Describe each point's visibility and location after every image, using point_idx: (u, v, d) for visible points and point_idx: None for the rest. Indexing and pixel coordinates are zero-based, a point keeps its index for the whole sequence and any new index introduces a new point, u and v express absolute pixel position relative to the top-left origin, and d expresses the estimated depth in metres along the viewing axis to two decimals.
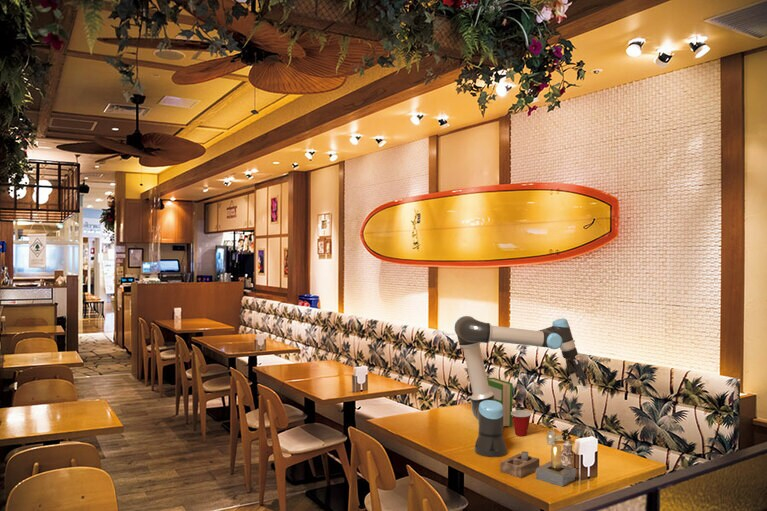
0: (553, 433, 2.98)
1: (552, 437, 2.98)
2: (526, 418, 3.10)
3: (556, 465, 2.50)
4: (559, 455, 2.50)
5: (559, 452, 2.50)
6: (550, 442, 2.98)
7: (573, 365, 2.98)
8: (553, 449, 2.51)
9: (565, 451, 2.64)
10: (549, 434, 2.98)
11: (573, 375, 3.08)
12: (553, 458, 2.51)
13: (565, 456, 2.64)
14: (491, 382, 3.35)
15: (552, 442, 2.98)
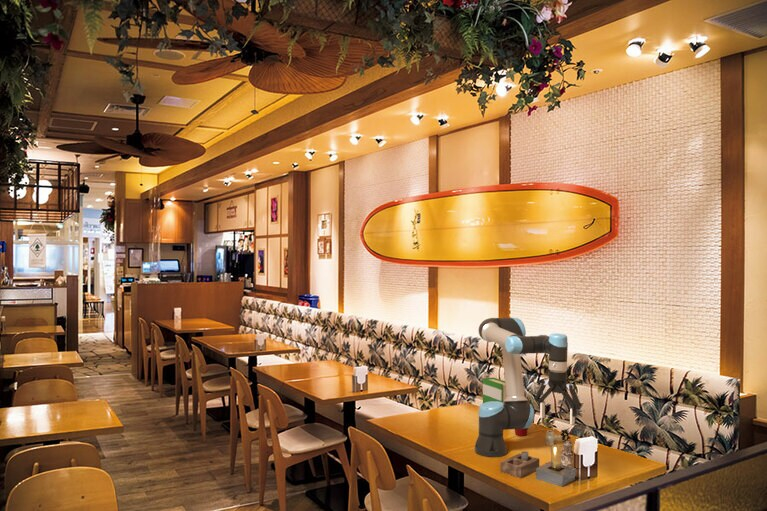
0: (552, 433, 2.98)
1: (551, 437, 2.98)
2: None
3: (556, 465, 2.50)
4: (559, 455, 2.50)
5: (559, 452, 2.50)
6: (549, 442, 2.98)
7: None
8: (553, 449, 2.51)
9: (565, 451, 2.64)
10: (548, 434, 2.98)
11: None
12: (553, 458, 2.51)
13: (565, 456, 2.64)
14: (491, 382, 3.35)
15: (551, 442, 2.98)
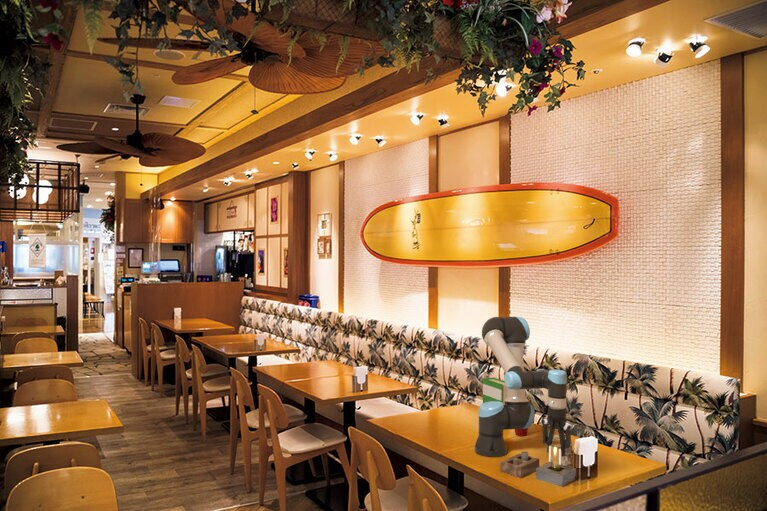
0: None
1: None
2: None
3: (556, 465, 2.50)
4: None
5: None
6: None
7: None
8: (553, 449, 2.51)
9: None
10: None
11: None
12: (553, 458, 2.51)
13: (565, 456, 2.64)
14: (491, 382, 3.35)
15: None
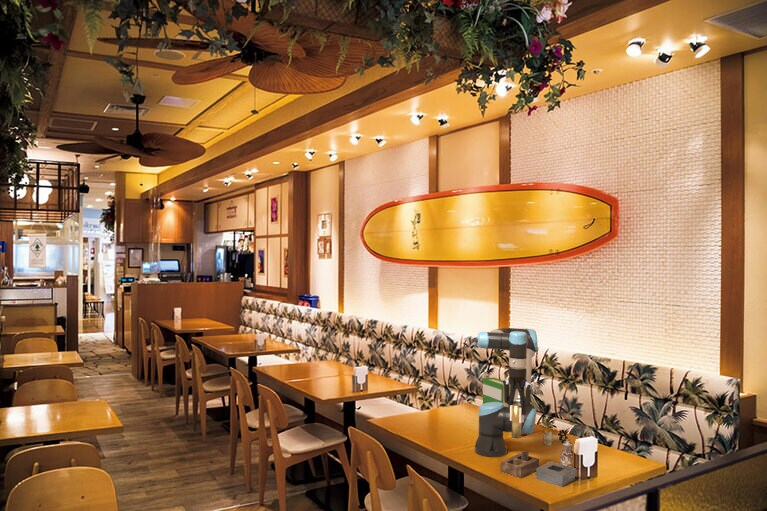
0: (550, 433, 2.98)
1: (549, 437, 2.97)
2: None
3: (516, 424, 2.57)
4: None
5: None
6: (547, 442, 2.98)
7: None
8: (514, 408, 2.57)
9: (565, 451, 2.64)
10: (546, 434, 2.98)
11: None
12: (514, 417, 2.57)
13: (565, 456, 2.64)
14: (491, 382, 3.35)
15: (549, 442, 2.98)
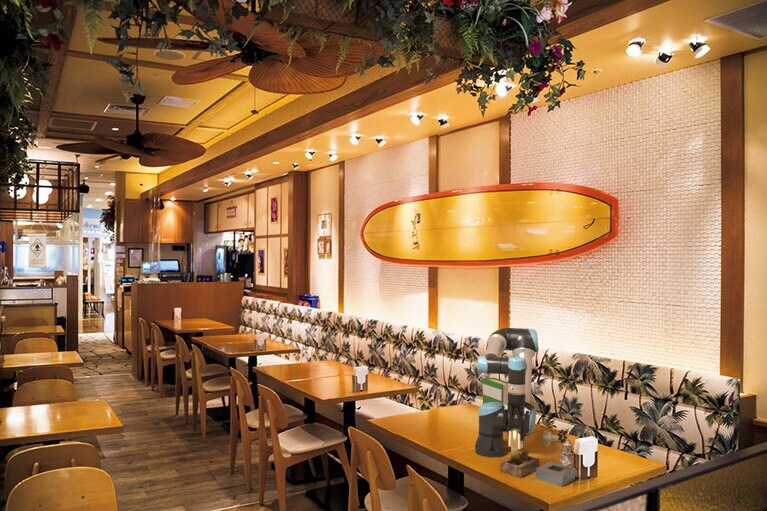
0: (549, 433, 2.98)
1: (548, 437, 2.97)
2: None
3: (515, 449, 2.56)
4: None
5: None
6: (546, 442, 2.97)
7: None
8: (512, 433, 2.57)
9: (565, 451, 2.64)
10: (545, 434, 2.98)
11: None
12: (512, 441, 2.57)
13: (565, 456, 2.64)
14: (491, 382, 3.35)
15: (548, 442, 2.97)
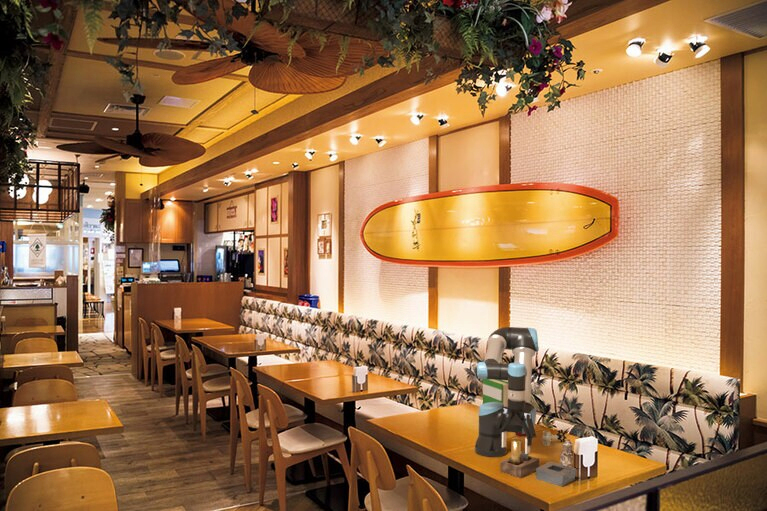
0: (549, 433, 2.98)
1: (548, 437, 2.97)
2: None
3: (515, 459, 2.56)
4: (518, 449, 2.57)
5: (518, 447, 2.57)
6: (546, 442, 2.97)
7: None
8: (513, 444, 2.57)
9: (565, 451, 2.64)
10: (545, 434, 2.98)
11: None
12: (513, 452, 2.57)
13: (565, 456, 2.64)
14: (491, 382, 3.35)
15: (548, 442, 2.97)
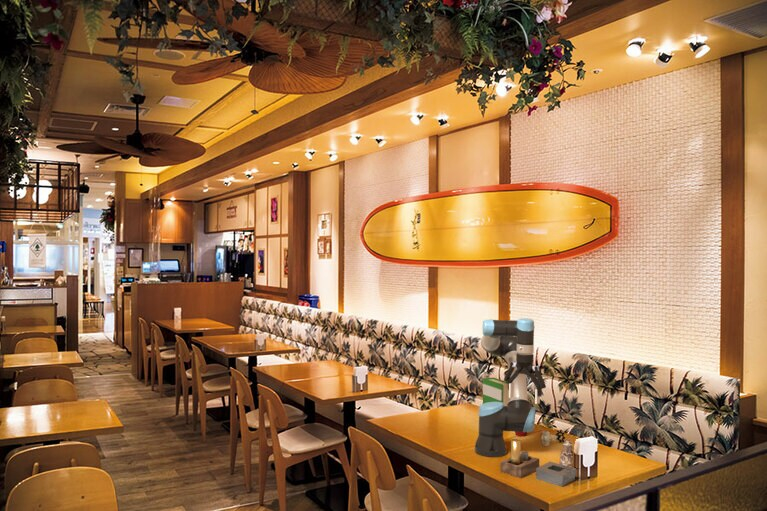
0: (548, 433, 2.97)
1: (547, 437, 2.97)
2: None
3: (515, 459, 2.57)
4: (518, 449, 2.57)
5: (518, 446, 2.57)
6: (545, 442, 2.97)
7: None
8: (512, 444, 2.57)
9: (565, 451, 2.64)
10: (544, 434, 2.97)
11: None
12: (512, 452, 2.57)
13: (565, 456, 2.64)
14: (491, 382, 3.35)
15: (547, 442, 2.97)
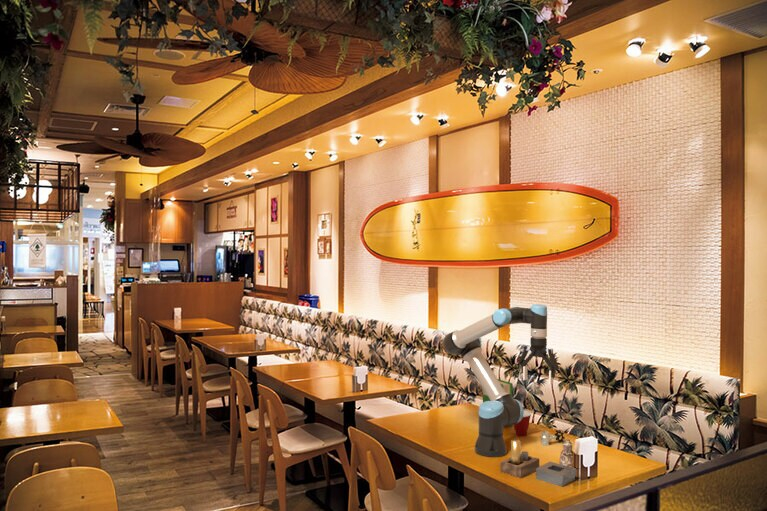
0: (547, 433, 2.97)
1: (546, 437, 2.97)
2: (526, 418, 3.10)
3: (515, 459, 2.57)
4: (518, 449, 2.57)
5: (518, 446, 2.57)
6: (544, 443, 2.97)
7: None
8: (512, 444, 2.57)
9: (565, 451, 2.64)
10: (543, 435, 2.97)
11: None
12: (512, 452, 2.57)
13: (565, 456, 2.64)
14: None
15: (546, 443, 2.97)
